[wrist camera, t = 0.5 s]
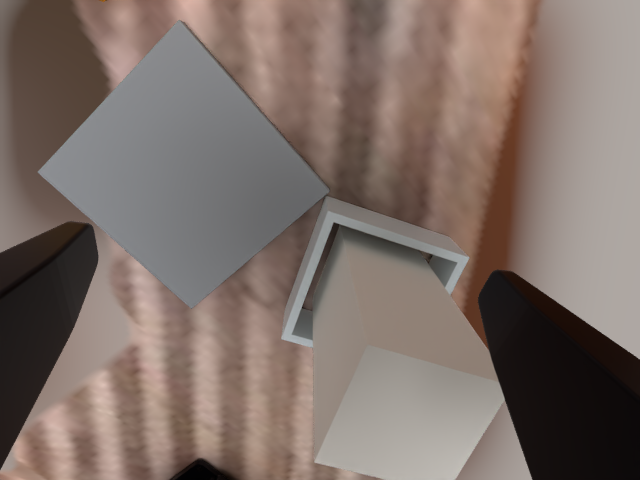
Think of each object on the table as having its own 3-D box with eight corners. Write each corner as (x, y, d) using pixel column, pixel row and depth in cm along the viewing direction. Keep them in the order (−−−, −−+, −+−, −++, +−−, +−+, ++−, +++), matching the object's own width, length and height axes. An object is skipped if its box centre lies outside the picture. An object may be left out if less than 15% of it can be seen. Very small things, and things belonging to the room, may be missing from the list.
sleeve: (398, 342, 29) (409, 374, 25) (284, 309, 27) (281, 339, 24) (449, 236, 26) (469, 257, 23) (325, 195, 25) (327, 211, 22)
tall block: (386, 319, 28) (445, 493, 16) (312, 297, 27) (314, 462, 15) (418, 250, 26) (513, 386, 14) (340, 224, 25) (367, 344, 13)
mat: (194, 302, 27) (191, 308, 26) (46, 169, 24) (37, 172, 23) (329, 188, 25) (329, 191, 24) (183, 22, 21) (179, 19, 21)
